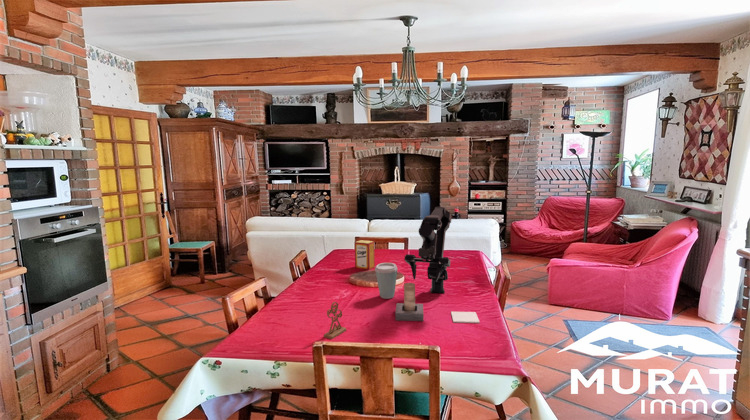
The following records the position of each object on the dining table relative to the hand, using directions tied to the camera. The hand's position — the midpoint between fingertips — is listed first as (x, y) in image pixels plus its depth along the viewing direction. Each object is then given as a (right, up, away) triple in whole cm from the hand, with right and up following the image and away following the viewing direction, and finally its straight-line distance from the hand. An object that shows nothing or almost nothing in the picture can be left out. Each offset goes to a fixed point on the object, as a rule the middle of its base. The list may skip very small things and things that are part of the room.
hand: (424, 280), depth 167 cm
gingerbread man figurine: (-35, -16, -20) cm, 44 cm away
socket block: (-7, -14, -3) cm, 15 cm away
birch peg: (-7, -14, -3) cm, 16 cm away
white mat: (+15, -14, -7) cm, 21 cm away
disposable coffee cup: (-15, -11, +19) cm, 27 cm away
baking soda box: (-27, -5, +69) cm, 74 cm away
